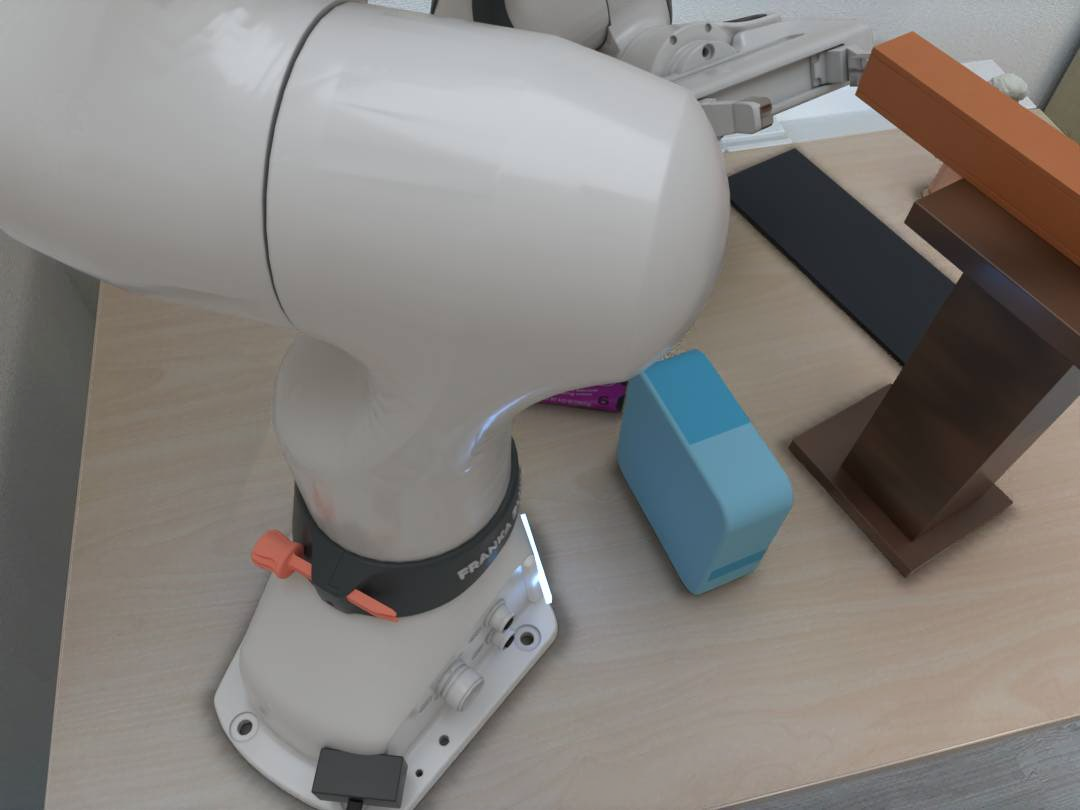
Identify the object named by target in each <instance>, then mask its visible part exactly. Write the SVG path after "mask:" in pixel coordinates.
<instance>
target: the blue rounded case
mask: <svg viewBox="0 0 1080 810" xmlns="http://www.w3.org/2000/svg"><path fill="white" fill-rule="evenodd" d="M624 402H625V403H624V407H623V413H622V419H621V424H620V429H619V434H618V439H617V445H616V458H617V464H618V466H619V469H620V471H621V473H622V475H623V477H624V479H625V481H626V482H627V485H628V487H629V488H630V490H631V492H632V493H633V495H634V497H635V499H636V501H637V503H638V504H639V506H640V508H641V510H642V512H643V513H644V516H645V517H646V519H647V520H648V523H649V524H650V527H651V528H652V530H653V531H654V533H655V535H656V537H657V538H658V541H659V542H660V544H661V546H662V548H663V550H664V551H665V553H666V555H667V557H668V559H669V560H670V562H671V564H672V566H673V568H674V569H675V571H676V573H677V575H678V577H679V579H680V580H681V582H682V584H683V586H684V587H685V588H686V589H687V590H688V591H689V592H690V593H691V594H692V595H694V596H695V595H696V596H699V595H701V594H705V593H707V592H709V591H712V590H713V589H716V588H719V587H720V586H723V585H725V584H727V583H730V582H732V581H735V580H737V579H740V578H742V577H744V576H747V575H749V574H751V573H753V572H755V571H756V569H757V568H758V566H759V565H760V562H761V561H762V559H763V557H764V556H765V554H766V552H767V550H768V549H769V547H770V545H771V544H772V543H773V541H774V539H775V537H776V535H777V534H778V532H779V531H780V529H781V527H782V525H783V523H784V522H785V520H786V518H787V517H788V515H789V514H790V511H791V510H792V508H793V505H794V501H795V500H794V491H793V487H792V483H791V482H790V478H789V476H788V475H787V473H786V471H785V470H784V468H783V467H782V466H781V464H780V462H779V461H778V460H777V458H776V457H775V455H774V454H773V452H772V451H771V449H770V448H769V446H768V444H767V443H766V442H765V440H764V438H762V436H761V434H760V433H759V431H758V430H757V428H756V427H755V425H754V424H753V423H752V421H751V419H750V418H749V417H748V415H747V414H746V412H745V411H744V409H743V408H742V406H741V405H740V403H739V402H738V401H737V399H736V397H735V396H734V395H733V393H732V391H730V389H729V387H728V386H727V384H726V383H725V382H724V380H723V378H722V377H721V375H720V374H719V373H718V371H717V370H716V368H715V366H714V365H713V363H712V362H711V360H710V359H709V357H708V356H707V355H706V354H705V353H704V352H703V351H701V350H699V349H690V350H687V351H684V352H682V353H679V354H676V355H672V356H669V357H667V358H664V359H660V360H658V361H657V362H656V363H654V364H653V365H652V366H650V367H649V368H647V369H646V370H645V371H643V372H642V373H640V374H638V375H636V376H635V377H633V378H631V379H629V380H628V386H627V391H626V396H625V401H624Z"/></svg>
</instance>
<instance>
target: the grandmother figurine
mask: <svg viewBox="0 0 1080 810" xmlns="http://www.w3.org/2000/svg"><path fill="white" fill-rule="evenodd" d="M987 82H988V83H990V84H991V85H993V86H994V87H996V88H997V89H999V90H1000V91H1001V92H1003V93H1004V94H1006V95H1007V96H1009V97H1010V98H1012V99H1013V100H1015V101H1016V102H1018V103H1019V102H1021V101H1024V99H1025V98H1027V96H1028V93H1029V87H1028V84H1027V83H1026V82H1025V81H1024V80H1023V78H1021V76H1018V75H1016V74H1014V73H1013V72H1008V73H1006V72H1005V73H1002V74H999V75H997V76H992V77H991V78H990V79H989V80H987ZM933 157H934V158H935V159H937V160H939V159H938V158H936V157H935V156H934V155H933ZM960 179H962V177H961V176H960V175H959V174H957V173H956V172H955V171H953V170H952V169H951V168H949V167H948V166H947V165H945V164H944V163H943V162H942V163H941V165H940V166H939V168H938V170H937V173H935V176H934V177H933V179H932V181H931V182H930V184H929V186H928V188H925V189H924V190H922V192H921V196H922V198H923V197H925V196H927V195H929V194H931V193H933V192H935V191H937V190H939V189H941V188H943V187H945V186H947V185H949V184H952V183H954V182H956V181H958V180H960Z"/></svg>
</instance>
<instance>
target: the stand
mask: <svg viewBox="0 0 1080 810" xmlns="http://www.w3.org/2000/svg"><path fill="white" fill-rule="evenodd" d="M903 223H904V225H905V226H906V227H907V228H909V229H910V230H911V231H913V232H914V233H915V234H916V235H918V237H920V238H921V239H922V240H923V241H925V242H926V243H927V244H928V245H929V246H931V247H932V248H933V249H934V250H935V251H937V253H939V255H941V256H943V258H945V259H946V260H947V261H948V262H950V263H951V264H952V265H953V266H955V267H956V268H957V269H958V270H959V271H961V275H960V277H959V278H958V279H957V281H956V283H955V284H956V285H955V286H954V288H953V289H952V291H951V293H950V294H949V296H948V297H947V299H946V300H945V302H944V304H943V305H942V307H941V308H940V310H939V312H938V313H937V315H936V316H935V318H934V319H933V321H932V323H931V324H930V326H929V327H928V329H927V330H926V332H925V334H924V335H923V337H922V338H921V340H920V341H919V343H918V345H917V346H916V348H915V349H914V351H913V353H912V354H911V356H910V357H909V359H908V360H907V362H906V364H905V365H904V367H903V366H902V368H901V370H900V371H899V373H898V375H897V376H896V378H895V379H894V381H893V382H892V383H888V384H886V385H885V386H883V387H881V388H880V389H878V390H876V391H874V392H873V393H871V394H869V395H868V396H865V397H864V398H862V399H861V400H858V401H857V402H855V403H853V404H851V405H849V406H848V407H846V408H845V409H843V410H841V411H839V412H838V413H836V414H834V415H832V416H831V417H829V418H827V419H825V420H824V421H822V422H820V423H819V424H817V425H815V426H813V427H812V428H810V429H808V430H806V431H804V432H803V433H801V434H799V435H798V436H796V437H794V438H793V439H791V441H790V443H789V445H788V446H787V448H788V449H789V451H790V452H791V453H792V454H793V455H794V456H795V458H796V459H797V460H798V461H799V462H800V463H801V464H802V465H803V466H804V468H806V470H808V472H809V473H810V474H811V475H812V476H813V478H814V479H816V480H817V482H818V483H819V484H820V485H821V486H822V487H823V488H824V489H825V490H826V492H827V493H828V494H829V495H830V496H831V497H832V499H833V500H835V502H836V503H837V504H838V505H839V506H840V507H841V508H842V509H843V511H844V512H845V513H846V514H847V515H848V516H849V518H851V519H852V521H854V523H855V524H856V525H857V526H858V527H859V528H860V529H861V531H862V532H863V533H864V534H865V535H866V536H867V537H868V538H869V539H870V541H872V543H873V544H874V545H875V547H877V548H878V549H879V551H880V552H881V553H882V554H883V555H884V556H885V557H886V558H887V559H888V560H889V562H890V563H891V564H892V565H893V566H894V567H895V569H897V571H898V572H899V573H900V574H901V575H902V576H903V577H904V578H908V577H909V576H911V575H912V574H913V573H915V572H917V571H918V570H920V569H921V568H923V567H924V566H926V565H927V564H929V563H930V562H931V561H932V560H935V559H936V558H938V557H939V556H940V555H942V554H943V553H945V552H946V551H948V550H949V549H951V548H952V547H953V546H955V545H956V544H958V543H959V542H961V541H962V540H963V539H965V538H967V537H969V536H970V535H972V534H973V533H974V532H976V531H977V530H978V529H980V528H982V527H983V526H985V525H986V524H988V523H990V521H992V520H993V519H994V518H996V517H998V516H999V515H1001V514H1003V512H1005V511H1006V510H1007V509H1009V508H1010V507H1011V505H1013V504H1014V501H1013V500H1012V499H1011V498H1010V497H1009V496H1008V495H1007V494H1005V492H1003V491H1002V489H1000V488H999V486H997V484H995V483H997V482H998V481H999V480H1000V479H1001V477H1002V476H1003V475H1004V474H1005V473H1007V471H1008V470H1009V469H1010V468H1011V467H1012V466H1013V465H1014V464H1016V462H1017V461H1018V460H1019V459H1020V458H1021V457H1022V456H1023V455H1024V453H1026V452H1027V450H1029V448H1031V446H1032V445H1034V443H1036V442H1037V440H1038V439H1039V438H1040V437H1042V435H1043V434H1044V433H1045V432H1047V430H1048V429H1049V428H1050V427H1051V426H1052V425H1053V424H1054V423H1055V421H1057V420H1058V419H1059V418H1060V417H1061V416H1062V414H1064V413H1065V411H1067V410H1068V408H1069V407H1070V406H1071V405H1072V404H1073V403H1074V402H1075V401H1076V400H1077V399H1078V398H1079V397H1080V267H1079V266H1077V265H1076V264H1075V263H1074V262H1072V261H1071V260H1070V259H1068V258H1067V257H1066V256H1064V255H1063V254H1062V253H1060V252H1059V251H1058V250H1057V249H1055V248H1054V247H1053V246H1051V245H1050V244H1049V243H1047V242H1046V241H1045V240H1043V239H1042V238H1041V237H1040V236H1038V235H1037V234H1036V233H1034V232H1033V231H1032V230H1030V229H1029V228H1028V227H1026V226H1025V225H1024V224H1023V223H1021V222H1020V221H1019V220H1017V219H1016V218H1015V217H1013V216H1012V215H1011V214H1010V213H1008V212H1007V211H1006V210H1004V209H1003V208H1002V207H1000V206H999V205H998V204H996V203H995V202H994V201H993V200H991V199H990V198H989V197H987V196H986V195H985V194H983V193H982V192H981V191H979V190H978V189H977V188H976V187H974V186H973V185H972V184H970V183H969V182H968V181H966V180H965V179H964V178H962V179H960V180H958V181H956V182H954V183H952V184H949V185H947V186H945V187H943V188H941V189H939V190H937V191H935V192H933V193H931V194H929V195H927V196H925V197H923V196H922V197H921V198H918V199H917V200H914V202H913V203H912V205H911V207H910V209H909V211H908V213H907V215H906V217H905V219H904V221H903Z"/></svg>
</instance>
